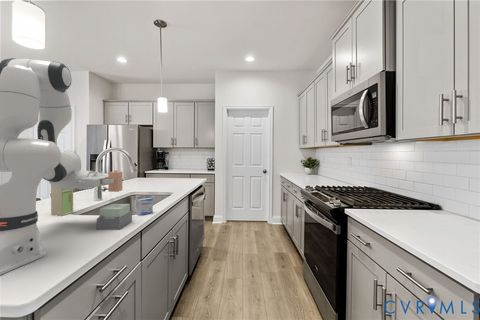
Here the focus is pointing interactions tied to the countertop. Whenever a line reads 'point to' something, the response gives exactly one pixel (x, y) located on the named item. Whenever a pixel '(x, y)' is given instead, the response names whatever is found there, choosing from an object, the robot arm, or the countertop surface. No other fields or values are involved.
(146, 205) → the medicine box
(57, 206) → the toy refrigerator
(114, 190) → the orange knobbed block
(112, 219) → the green-topped grey pedestal
